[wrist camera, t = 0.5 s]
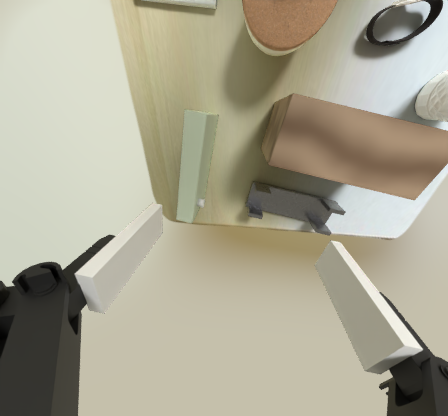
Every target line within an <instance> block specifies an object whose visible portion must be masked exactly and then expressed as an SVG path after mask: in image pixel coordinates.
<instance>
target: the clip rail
mask: <svg viewBox="0 0 448 416" xmlns="http://www.w3.org/2000/svg"><path fill="white" fill-rule="evenodd" d="M246 207H248V216H250V217H254V218H259V219H262V217H263V215H262V210H263V211H267V212H271V213H275V214H280V215H284V216H288V217H292V218H296V219H300V220H304V221H309V222H310V223H311V225H312V227H313V228H314V230H315V232H317V233H321V234H325V235H330V234H331V231H330V230H329V229H328V227H327V226H326V225H325V223H326V221H327V220H328V218H329V217H330V215H331V214H332V213H336V214H340V215H344V214H345V211H344V210H343V209H342V208H341V207H340V206H339V205H338V203H337V202H336V201H333V200H328V199H324V198H320V197H316V196H312V195H308V194H303V193H299V192H295V191H291V190H287V189H283V188H279V187H274V186H270V185H266V184H262V183H258V182H254V181H253V183H252V186H251V189H250V192H249V196H248V199H247V202H246Z"/></svg>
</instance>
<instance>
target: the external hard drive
mask: <svg viewBox="0 0 448 416" xmlns="http://www.w3.org/2000/svg"><path fill="white" fill-rule="evenodd" d="M143 1H151V2H159V3H168V4H177V5H186V6H194V7H203V8H213V9H216V7H217V0H143Z"/></svg>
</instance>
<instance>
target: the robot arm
mask: <svg viewBox="0 0 448 416" xmlns="http://www.w3.org/2000/svg"><path fill="white" fill-rule="evenodd" d="M161 234H162V205H160V204H156V203H152V204H151V205H150V206H149V207H147V208H146V209H145V210H144V211H143V212H142V213H141V214H140V215H139V216H138V217H136V218H135V219H134V220H133V221H132V222H131V223H130V224H129V225H128V226H127V227H125V228H124V229H123V230H122V231H121V232H120V233H119V234H118V235H117V236H113V235H108V236H106V237H104V238H101V239H100V240H98V241H97V242H96V243H95V244H94V245H92V247H90V248H89V249H88V250H86V252H84V253H83V254H82V255H80V256H79V257H78V258H77V259H76V260H74V261H73V262H72V263H71V264H70V265H68V266H67V267H66V268H65V269H64V270H62V268H61V266H60V265H59V264H58V263H55V262H44V263H40V264H37V265H34V266H31V267H29V268H27V269H25V270H23V271H22V272H21V273H19V274H18V275H17V276H16V277H15V278H14V280H13V281H12V283H13V284H14V285H15V286H11V287H6V286H5V285H4V283H3V282H2V281H0V416H78V397H79V369H80V343H81V316H82V314H81V310H82V308H84V306H85V305H86V304H87V306H88V308H89V310H90V311H95V312H99V313H105V312H106V311H107V309H108V307H109V306H110V305H111V303H112V302H113V301H114V299H115V298H116V297H117V295H118V294H119V293H120V291H121V290H122V288H123V287H124V286H125V284H126V283H127V281H128V280H129V279H130V277H131V276H132V274H133V273H134V271H135V270H136V269H137V268H138V266H139V265H140V263H141V262H142V261H143V259H144V258H145V256H146V255H147V253H148V252H149V251H150V249H151V248H152V247H153V245H154V244H155V243H156V241H157V240H158V238H159V237H160V236H161ZM315 267H316V270H317V272H318V274H319V276H320V278H321V280H322V282H323V284H324V286H325V288H326V291H327V293H328V295H329V297H330V299H331V301H332V303H333V305H334V307H335V309H336V311H337V314H338V316H339V318H340V320H341V322H342V324H343V326H344V328H345V330H346V333H347V334H348V337H349V339H350V341H351V343H352V345H353V347H354V349H355V352H356V354H357V356H358V358H359V360H360V362H361V364H362V366H363V368H364V370H365V371H367V372H372V373H377V374H382V373H383V372H385V371H387V370H390V372H391V374H392V375H393V378H391V379H389V380H387V381H385V382H383V383H381V384H380V386H379V388H380V389H381V390H382V389H384V388H386V387H389V391H388V392H386V394H387V395H388V407H387V416H448V362H447V361H445V360H443V359H442V358H439V357H435V356H434V355H433V354H432V352H431V351H430V350H429V349H428V347H427V346H426V345H425V344H424V342H423V341H422V340H421V339H420V337H419V336H418V335H417V334H416V332H415V331H414V330H413V329H412V327H411V326H410V325H409V324H408V322H407V321H405V319H404V317H403V316H402V315H401V314H400V313H399V312H398V310H397V309H396V307H395V306H394V305H393V304H392V303H391V301H390V300H389V299H388V298H387V297H385V296H384V295H383V294H382V293H381V292H378V290H377V289H376V288H375V287H374V285H373V284H372V283H371V281H370V280H369V279H368V277H367V276H366V275H365V274H364V272H363V271H362V270H361V269H360V267H359V266H358V265H357V263H356V262H355V261H354V259H353V258H352V257H351V255H350V254H349V253H348V252H347V250H346V249H345V248H344V247H343V245H342V244H341V243H340V242H336V241H331V240H330V242H329V243H328V245H327V247H326V248H325V250H324V251H323V253H322V255H321V256H320V258H319V259H318V261H317V262H316V264H315Z"/></svg>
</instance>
